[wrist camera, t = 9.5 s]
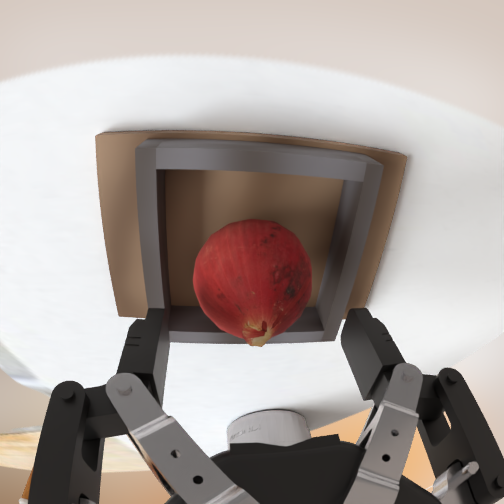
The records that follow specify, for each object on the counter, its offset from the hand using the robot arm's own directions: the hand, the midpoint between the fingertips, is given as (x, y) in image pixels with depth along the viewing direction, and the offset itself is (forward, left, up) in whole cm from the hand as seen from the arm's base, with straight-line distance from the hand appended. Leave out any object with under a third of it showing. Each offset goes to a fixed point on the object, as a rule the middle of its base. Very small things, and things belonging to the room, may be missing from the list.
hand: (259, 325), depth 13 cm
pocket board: (0, 0, -8) cm, 8 cm away
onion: (0, 0, -7) cm, 7 cm away
